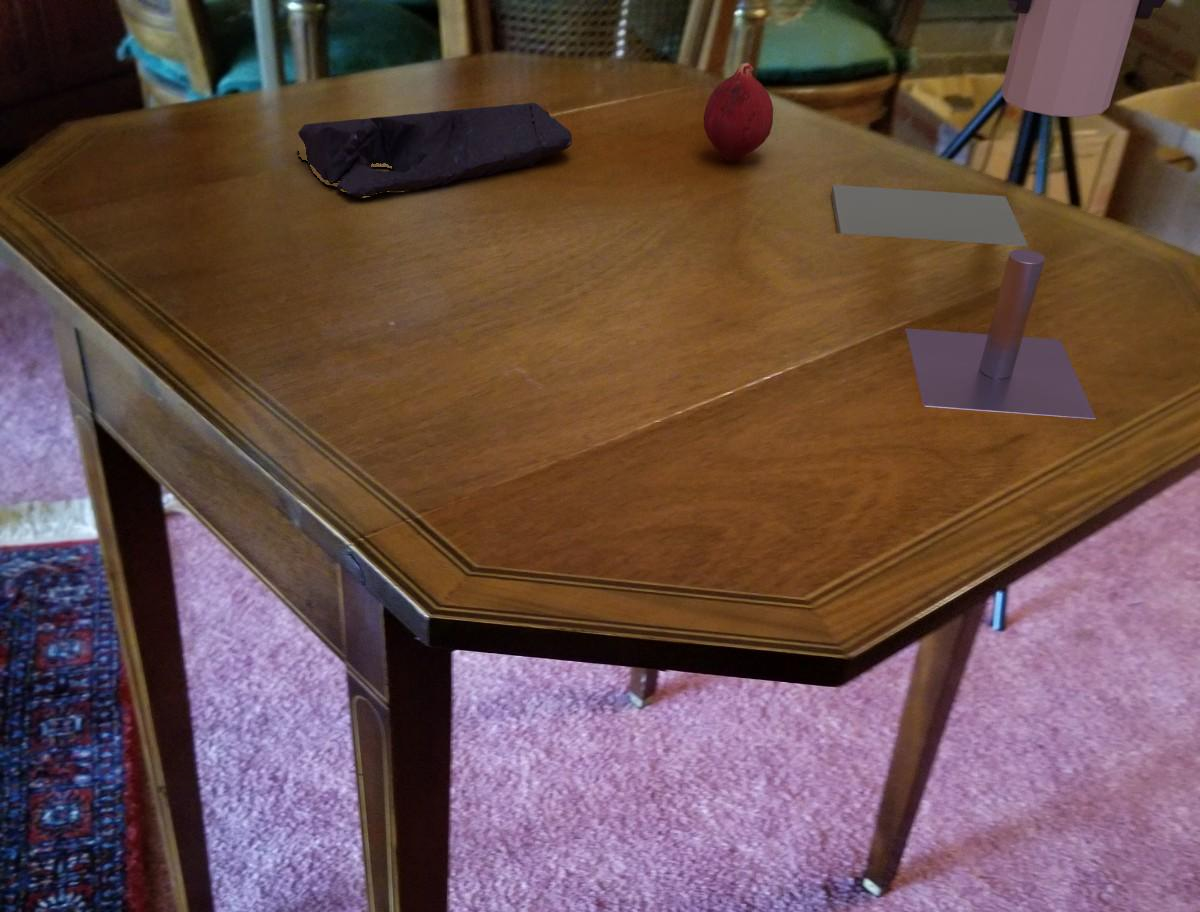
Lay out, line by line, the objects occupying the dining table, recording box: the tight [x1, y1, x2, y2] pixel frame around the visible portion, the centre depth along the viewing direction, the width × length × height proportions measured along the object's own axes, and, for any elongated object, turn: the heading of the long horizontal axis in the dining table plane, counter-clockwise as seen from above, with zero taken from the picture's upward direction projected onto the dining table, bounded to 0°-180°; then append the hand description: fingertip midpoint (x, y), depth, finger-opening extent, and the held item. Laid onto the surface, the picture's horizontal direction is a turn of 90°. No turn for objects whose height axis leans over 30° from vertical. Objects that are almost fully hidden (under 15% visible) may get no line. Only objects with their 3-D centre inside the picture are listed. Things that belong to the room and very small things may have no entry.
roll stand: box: [904, 248, 1097, 420], centre depth 72 cm, size 10×10×9 cm
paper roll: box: [1000, 0, 1140, 118], centre depth 64 cm, size 6×6×9 cm
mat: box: [830, 184, 1029, 247], centre depth 92 cm, size 14×18×1 cm
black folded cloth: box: [297, 102, 573, 198], centre depth 100 cm, size 15×22×5 cm
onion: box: [703, 62, 774, 163], centre depth 101 cm, size 6×6×8 cm
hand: (1076, 11), depth 64 cm, fingers closed on paper roll, 5 cm apart
